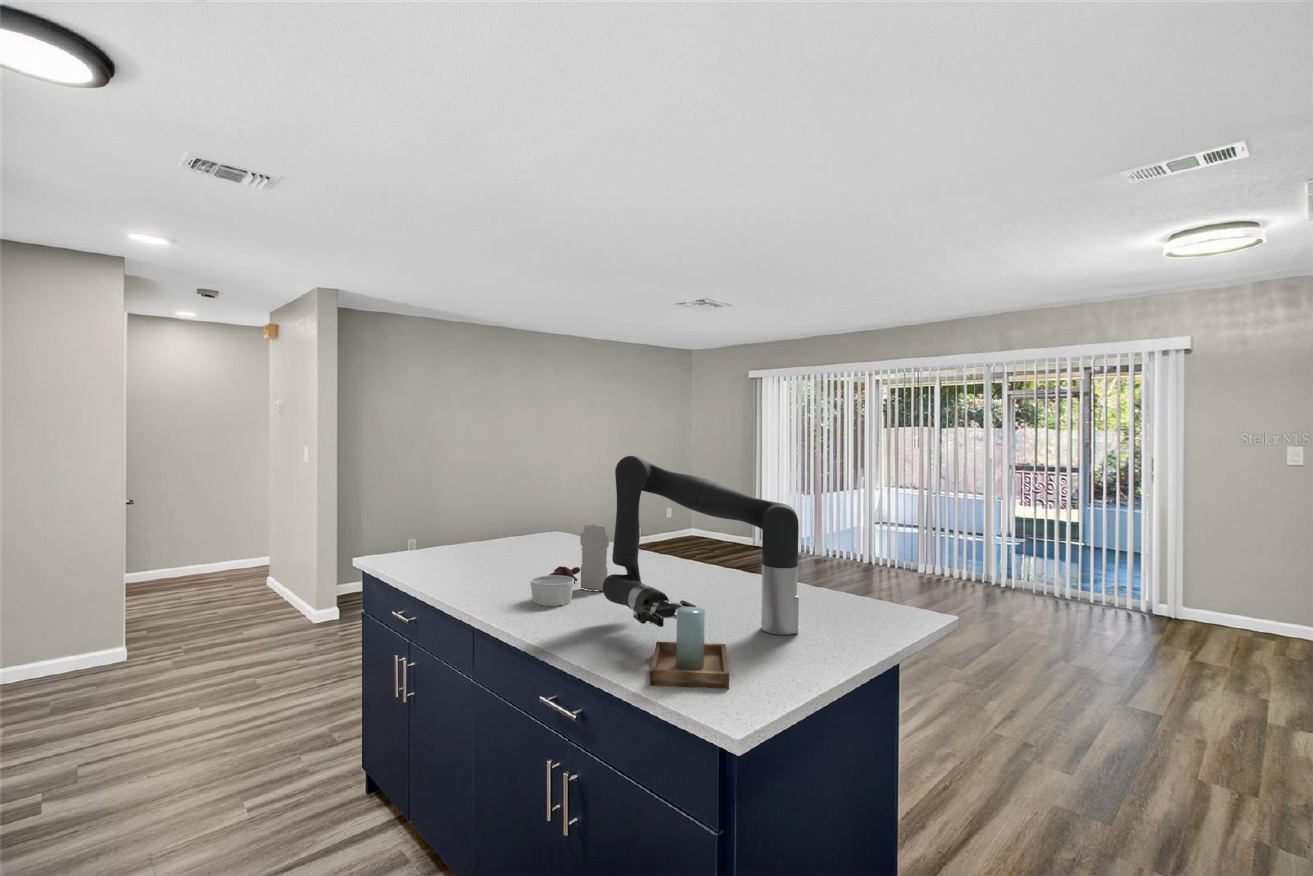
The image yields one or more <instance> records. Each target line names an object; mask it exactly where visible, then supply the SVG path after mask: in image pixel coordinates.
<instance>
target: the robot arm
mask: <svg viewBox="0 0 1313 876" xmlns="http://www.w3.org/2000/svg"><path fill="white" fill-rule="evenodd" d="M614 471H615V472H614V473H615V474H614V475H615V487H616V488H615V490H616V492H615V493H616V515H615V526H614V539H613V546H612V547H613V548H612V556H611V557H612V558H611V559H612V564H615V565H616V566H620V567H624V568H625V570H626V574H619V573H618V574H610V575H608V576H607V578H606V579H605V580H604V582H603V587H602V589H603V592H602V593H603V596H604V597H605V598H606V600H608V601H609V602H611V603H613V604H618V605H622V606H624V607H628V608H629V609H630V610H632V611H633V612H632V613H633V615H632V616H633V618H634V619H635V620H636V621H637V622H638V623H640V624H642V625H643V624H645V625H646V624H647V622H648V623H649V624H651V625H652V624H653V625H655V626H657V627H660V628H663V627H664V625H665V621H664V620H665V619H673V620H677V614H676V613H677V609H678V608H681V607H697V605H695V604H692V603H690V602H688V601H685V600H680V601H679V603H678V602H672V601H671V600H670V599H669V598H668V596H667V595H666V593H664V592H663V591H660V590H659V589H656V588H654V587H653V586H652V585H651V586H650V585H648V584H645V583H642V580H641V575H640V567H639V566H640V565H639V549H640V548H639V547H640V535H641V530H640V517H639V516H640V499H641V494H642V492H646V493H649V494H654V495H658V496H661V497H664V498H666V499H668V500H670V501H671V502H674V503H675V504H678V505H680V506H681V507H685V508H686V509H689V510H691V511H694V512H697V513H700V514H703V515H706V516H710V517H713V518H719V519H724V520H733V521H739V522H742V523H743V522H744V523H747V524H748V525H751V526H753V527H757V528H759V529H761V531H762V532H761V533H762V537H761V538H762V539H761V542H762V543H761V558H762V559H761V560H762V561H761V562H762V563H761V564H762V565H761V619H760V620H761V630H762V631H763V632H765V633H767V634H768V633H769V634H770V635H771V634H772V635H777V636H778V635H780V636H781V635H782V636H784V635H787V636H788V635H793V634H799V607H800V606H799V601H800V597H799V596H798V570H799V568H798V566H799V564H798V562H799V528H800V527H799V524H800V523H799V518H798V515H797V512H796V511H795V510H794V508H793V507H792V506H790V505H789V504H786V503H781V502H776V501H771V500H767V499H762V498H759V497H754V496H752V495H748V494H745V493H743V492H742V491H739V490H736V489H734V488H732V487H730V486H726V485H724V484H721V483H719V482H716V481H713V480H710V479H707V478H703V477H699V476H696V475H692V474H691V475H690V474H687V473H680V472H679V473H678V472H673V471H670V470H668V469H665V468H662V467H659V466H657V465H655V464H653V463H650V462H648V461H646V460H645V459H643V458H641V457H638V456H636V455H626V456H624V457H622V458H621V459H620V460H619V461H618V462H617V464H616V467H615V469H614Z"/></svg>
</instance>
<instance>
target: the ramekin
mask: <svg viewBox="0 0 1313 876" xmlns="http://www.w3.org/2000/svg"><path fill="white" fill-rule="evenodd" d="M529 584H530V586H531V587H530V589H531V596H532V597H531V598H532V602H533V603H534V604H535V605H537V604H538V605H537V606H540V605H542V606H541V607H548V606H553V607H558V606H557V605H562V604H565V605H567V603H568V604H569V603H570V602H571V600H572V598H573V597H572V596H573V592H574V591H573V590H574V585H575V583H574V579H573V578H571V577H568V576H560V575H550V574H548V575H540V576H535V577H533V578H531V579H530V583H529ZM562 606H563V605H562Z"/></svg>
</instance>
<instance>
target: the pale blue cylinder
mask: <svg viewBox="0 0 1313 876" xmlns="http://www.w3.org/2000/svg"><path fill="white" fill-rule="evenodd" d="M705 613H706V610H705V609H703V608H701V607H697V606H696V607H681V608H678V609H677V610H676V615H677V619H676V641H675V642H676V667H677V668H679V669H681V670H691V671H698V670H701V669H703V668H704V643H705V625H706V624H705V621H706V619H705V615H706V614H705Z"/></svg>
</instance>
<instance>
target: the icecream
mask: <svg viewBox="0 0 1313 876" xmlns="http://www.w3.org/2000/svg"><path fill="white" fill-rule="evenodd" d="M579 573H581V567H579V566H575V567H572V568H571V569H570V568H569V567H567V566H558V567H556V568H555V569H554V571H553V572H552V573H549V575H560V576H568V577H571V578H573V579H574V582H575V581H577V582H578V578H577V577H576V576H575V575H577V574H579Z"/></svg>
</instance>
